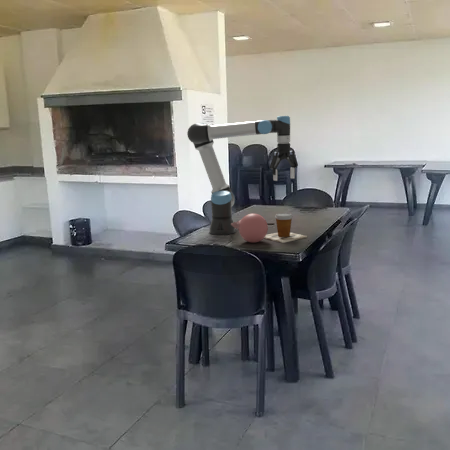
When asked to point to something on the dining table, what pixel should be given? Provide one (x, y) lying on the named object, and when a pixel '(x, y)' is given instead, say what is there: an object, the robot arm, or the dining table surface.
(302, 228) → the dining table surface
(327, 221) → the dining table surface
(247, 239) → the balloon
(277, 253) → the dining table surface
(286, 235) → the disposable coffee cup
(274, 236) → the board
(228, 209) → the robot arm
